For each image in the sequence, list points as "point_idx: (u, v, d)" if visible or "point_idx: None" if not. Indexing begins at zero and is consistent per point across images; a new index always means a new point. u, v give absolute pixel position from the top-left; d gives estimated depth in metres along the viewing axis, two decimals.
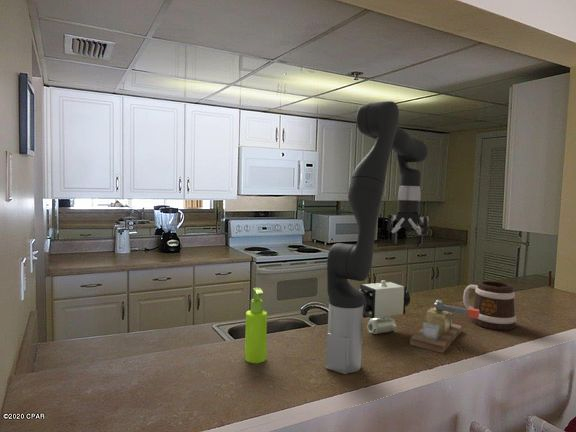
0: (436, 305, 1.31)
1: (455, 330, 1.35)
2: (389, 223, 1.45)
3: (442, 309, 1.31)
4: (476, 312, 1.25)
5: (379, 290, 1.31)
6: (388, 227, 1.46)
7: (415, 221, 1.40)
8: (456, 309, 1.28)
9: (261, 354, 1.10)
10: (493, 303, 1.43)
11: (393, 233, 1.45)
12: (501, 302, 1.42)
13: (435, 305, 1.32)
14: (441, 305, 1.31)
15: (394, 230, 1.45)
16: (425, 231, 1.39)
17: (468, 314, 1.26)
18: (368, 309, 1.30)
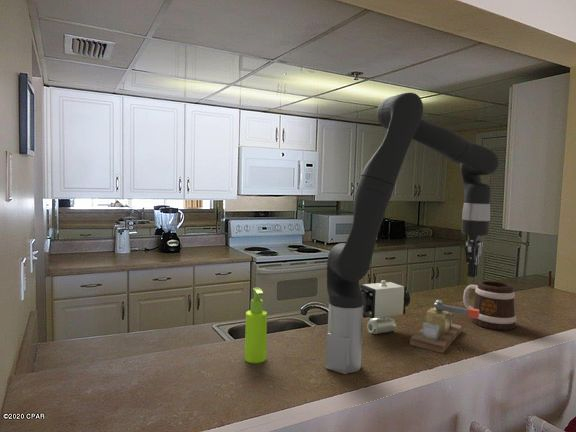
0: (436, 305, 1.31)
1: (455, 330, 1.35)
2: (475, 255, 1.17)
3: (442, 309, 1.31)
4: (476, 312, 1.25)
5: (379, 290, 1.31)
6: (475, 259, 1.17)
7: None
8: (456, 309, 1.28)
9: (260, 354, 1.10)
10: (493, 303, 1.43)
11: (474, 265, 1.19)
12: (501, 302, 1.42)
13: (435, 305, 1.32)
14: (441, 305, 1.31)
15: (476, 261, 1.19)
16: None
17: (468, 314, 1.26)
18: (368, 309, 1.30)
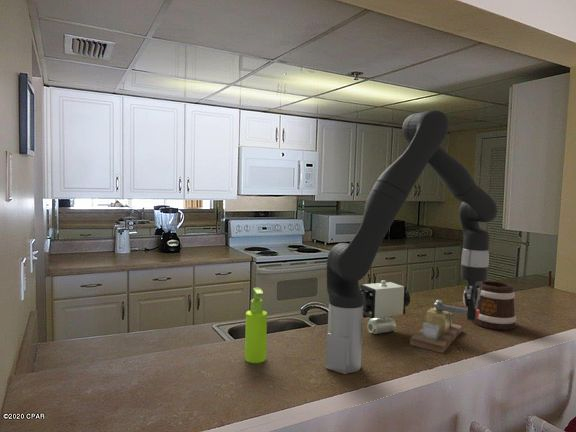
0: (436, 305, 1.31)
1: (455, 330, 1.35)
2: (474, 301, 1.19)
3: (442, 309, 1.31)
4: (476, 312, 1.25)
5: (379, 290, 1.31)
6: (474, 304, 1.20)
7: None
8: (456, 309, 1.28)
9: (260, 354, 1.10)
10: (493, 303, 1.43)
11: (473, 309, 1.22)
12: (501, 302, 1.42)
13: (435, 305, 1.32)
14: (441, 305, 1.31)
15: (476, 305, 1.22)
16: (478, 301, 1.25)
17: None
18: (368, 309, 1.30)
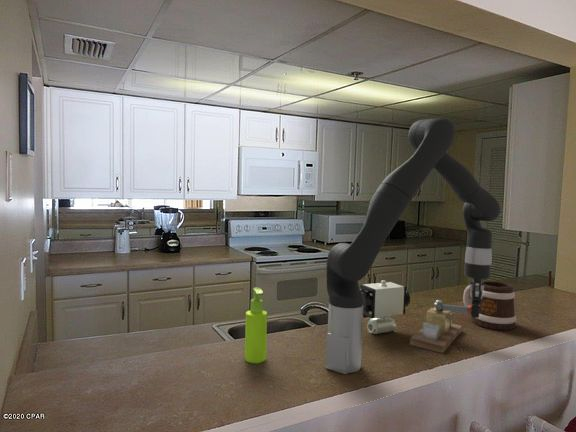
0: (437, 305, 1.31)
1: (455, 330, 1.35)
2: (480, 298, 1.22)
3: (443, 309, 1.31)
4: None
5: (379, 290, 1.31)
6: (480, 301, 1.23)
7: None
8: (457, 308, 1.30)
9: (260, 354, 1.10)
10: (493, 303, 1.43)
11: (478, 306, 1.25)
12: (501, 302, 1.42)
13: (436, 305, 1.31)
14: (442, 305, 1.31)
15: None
16: None
17: (470, 311, 1.29)
18: (368, 309, 1.30)
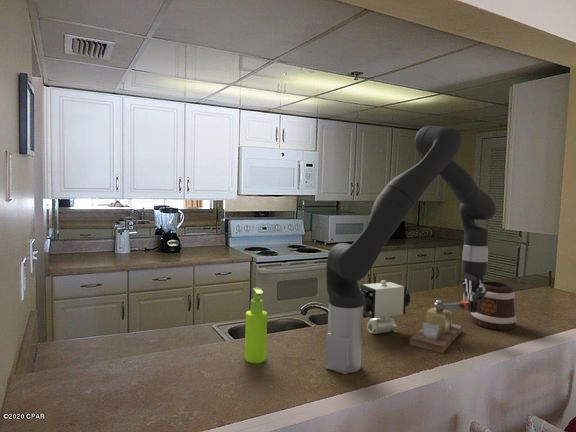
0: (440, 306, 1.31)
1: (455, 330, 1.35)
2: None
3: (444, 308, 1.32)
4: None
5: (379, 290, 1.31)
6: None
7: None
8: (455, 305, 1.33)
9: (260, 354, 1.10)
10: (493, 303, 1.43)
11: (476, 301, 1.31)
12: (501, 302, 1.42)
13: (438, 306, 1.31)
14: (443, 304, 1.32)
15: None
16: None
17: (465, 307, 1.33)
18: (368, 309, 1.30)
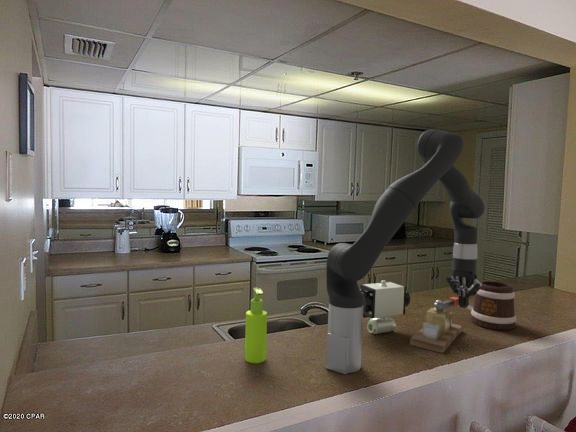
0: (442, 306, 1.31)
1: (455, 330, 1.35)
2: None
3: (443, 307, 1.33)
4: None
5: (379, 290, 1.31)
6: None
7: None
8: (449, 303, 1.35)
9: (261, 354, 1.10)
10: (493, 303, 1.43)
11: None
12: (501, 302, 1.42)
13: (440, 306, 1.31)
14: None
15: None
16: None
17: (455, 303, 1.38)
18: (368, 309, 1.30)
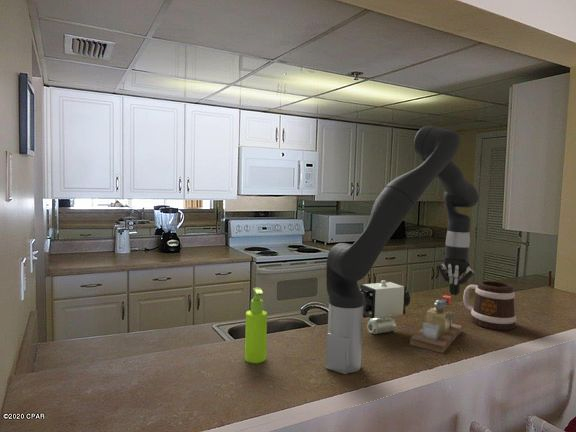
0: (442, 305, 1.31)
1: (455, 330, 1.35)
2: None
3: None
4: None
5: (379, 290, 1.31)
6: None
7: None
8: (445, 302, 1.37)
9: (260, 354, 1.10)
10: (493, 303, 1.43)
11: None
12: (501, 302, 1.42)
13: (441, 306, 1.31)
14: None
15: None
16: None
17: (449, 302, 1.39)
18: (368, 309, 1.30)
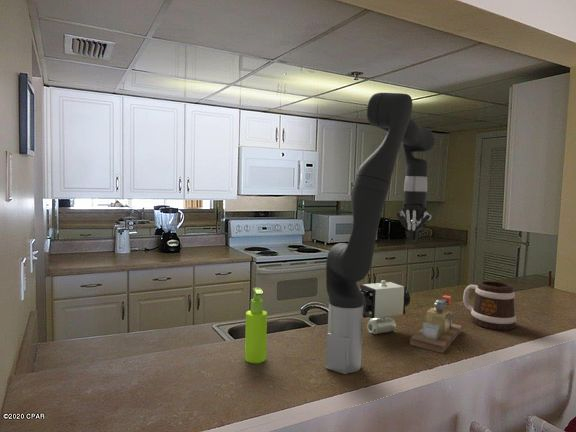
0: (442, 305, 1.31)
1: (455, 330, 1.35)
2: None
3: None
4: None
5: (379, 290, 1.31)
6: None
7: None
8: (445, 302, 1.37)
9: (261, 354, 1.10)
10: (493, 303, 1.43)
11: None
12: (501, 302, 1.42)
13: (441, 306, 1.31)
14: None
15: None
16: None
17: (449, 302, 1.39)
18: (368, 309, 1.30)
